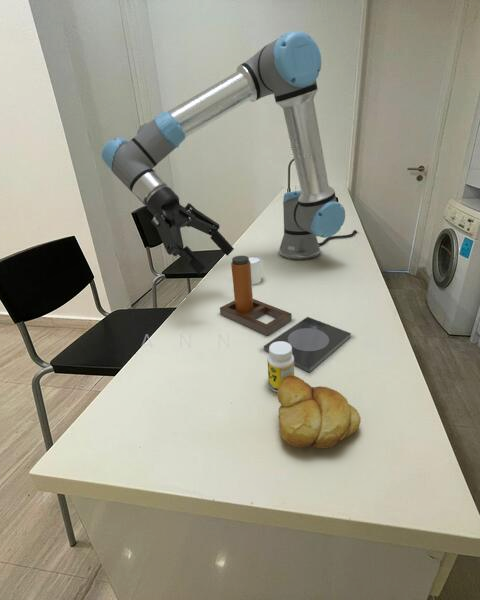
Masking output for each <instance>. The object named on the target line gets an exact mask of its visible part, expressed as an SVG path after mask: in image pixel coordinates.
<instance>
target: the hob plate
mask: <svg viewBox="0 0 480 600" xmlns="http://www.w3.org/2000/svg"><path fill="white" fill-rule="evenodd" d="M351 336H352V333H351V332H349V331H346V330H343V329H341V328H339V327H335V326H333V325H331V324H329V323H326V322H322V321H319V320H317V319H314V318H312V317H309V316H307V317H304V318H303V319H302V320H301V321H299V322H298V323H296V324H295V325H293V326H291V327H290V328H288V329H287V330H286V331H284V332H283V333H281V334H280V335H278V336H277V337H275V338H274V339H272V340H271V341H269V342H268V343H266V344H264V345H263V351H265V352H267V353H269V347H270V345H271V344H272V343H274V342H278V341H284V342H287V343H289V344H290V345H291V346H292V354H293V356H294V367H297V368H299V369H301V370H303V371H305V372H307V373H310V372H312V371H313V370H314V369H315V368H316V367H318V366H319V365H320V364H321V363H322V362H323V361H324V360H326V359H327V358H328V357H330V355H332V354H333V353H334V352H335V351H336V350H337V349H338V348H340V347H341V346H342V345H343V344H345V342H347V341H348V340H349V339H350V338H351Z"/></svg>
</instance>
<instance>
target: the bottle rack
mask: <svg viewBox="0 0 480 600" xmlns="http://www.w3.org/2000/svg"><path fill="white" fill-rule="evenodd" d="M219 313H220V316H223V317H225V318H227V319H230V320H232V321H234V322H236V323H238V324H240V325H243V326H245V327H247V328H249V329H251V330H254V331H255V332H258V333H260V334H262V335H264V336H266V337H268V336H270V335H271V334H273V333H274V332H276V331H277V330H279V329H281V328H282V327H283V326H285V325H287V324H288V323H290V322H291V321H292V320H293V319H292V315H293V314H292V313H291V312H289V311H287V310H284V309H282V308H279V307H275V306H273V305H270V304H268V303H266V302H263V301H260V300H257V299H256V298H253V310H251V311H249V312H247V313H246V314H242V313H240V312H238V311H236V308H235V299H234V300H232V301H230V302H228V303H226V304H224V305H222V306H220V307H219ZM264 315H268V316H270V317H273V318H274V319H272V320H271V321H269V322H268V323H265V322H263V321H262V320H261V321H260V320H258V319H259V318H261V317H262V316H264Z"/></svg>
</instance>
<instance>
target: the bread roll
mask: <svg viewBox="0 0 480 600" xmlns="http://www.w3.org/2000/svg"><path fill="white" fill-rule="evenodd" d="M276 393H277V400H278V403H279V404H280V406H279V407H278V415H277V417H278V421H279V422H278V423H279V435H280V437H281V439H282V440H283V441H284V442H286V443H287V444H288V445H291V446H293V447H295V448H307V447H311V448H318V449H323V448H324V449H325V448H326V449H330V448H333V447H334V446H335V445H336V444H337V443H340V442H341V441H343V440H344V439H346V438H347V437H349V436H351V435H353V434H354V433H355V432H356V431H357V430H358V429H359V427H360V425H361V419H362V418H361V416H360V413H359V411H358V410H357V408H356V407H354V406H352V405H351V404H350V403H349V402H348V399H347V397H345V396H344V395H343V394H342V393H340V392H339V391H337V390H335V389H332V388H330V387H327V386H321V385H320V386H311V385H310V384H309V383H308V382H306V381H305V380H304V379H301V378H300V377H298V376H296V375H294V376H293V375H292V376H287V377H285V378H284V379H283V380H282V381H281V384H280V386H279V388H278V391H277V392H276Z"/></svg>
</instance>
